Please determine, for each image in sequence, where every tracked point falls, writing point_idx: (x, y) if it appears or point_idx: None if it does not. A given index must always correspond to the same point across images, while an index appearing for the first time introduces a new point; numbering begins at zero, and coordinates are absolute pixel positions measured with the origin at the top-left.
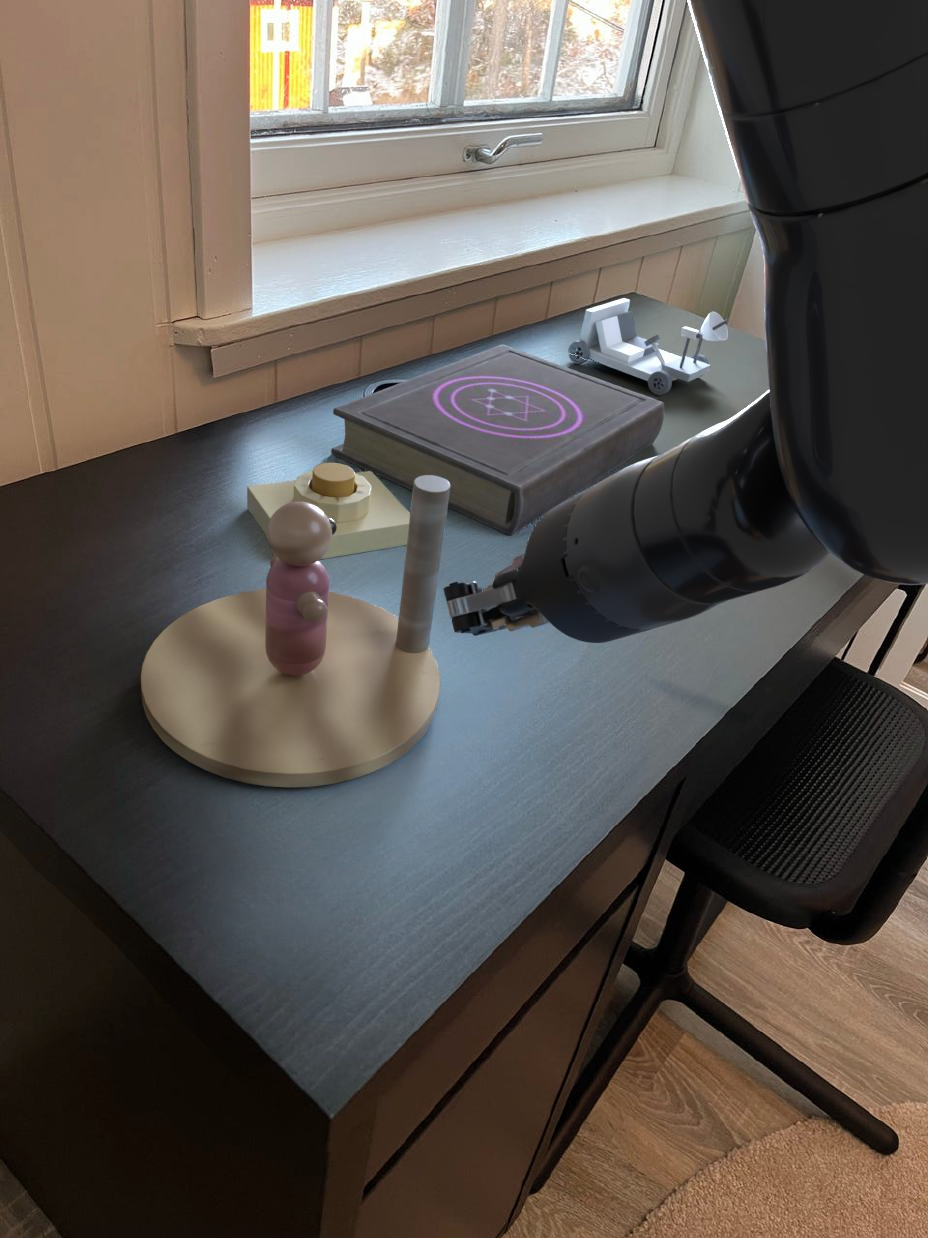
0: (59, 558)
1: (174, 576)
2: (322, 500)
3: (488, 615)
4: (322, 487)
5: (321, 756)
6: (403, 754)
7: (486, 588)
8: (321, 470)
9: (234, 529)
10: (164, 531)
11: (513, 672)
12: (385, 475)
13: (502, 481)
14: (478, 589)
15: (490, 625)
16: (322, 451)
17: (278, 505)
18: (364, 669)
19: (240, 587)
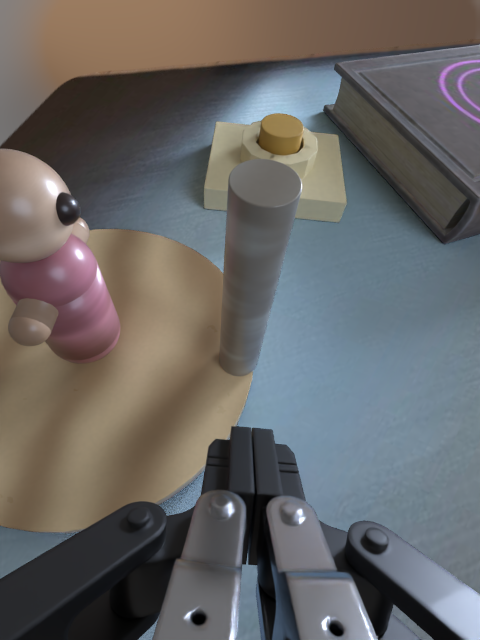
0: (40, 147)
1: (106, 190)
2: (256, 153)
3: (145, 608)
4: (263, 139)
5: (12, 495)
6: None
7: (192, 517)
8: (271, 120)
9: (190, 159)
10: (135, 145)
11: (342, 435)
12: (356, 143)
13: (462, 184)
14: (110, 575)
15: (145, 627)
16: (317, 106)
17: (227, 147)
18: (161, 375)
19: (148, 219)
